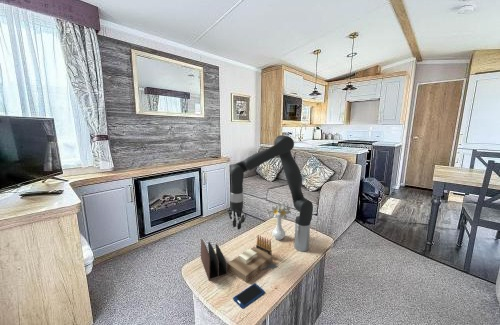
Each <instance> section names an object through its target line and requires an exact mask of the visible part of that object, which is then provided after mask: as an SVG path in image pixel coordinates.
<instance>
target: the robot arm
mask: <svg viewBox="0 0 500 325" xmlns="http://www.w3.org/2000/svg"><path fill="white" fill-rule="evenodd" d="M294 147H295V141H294V139H293V138H292V137H291V136H288V135H283V134H281V135H278V136H277V137H276V138H275V140H274V144H273V145H272V146H270V147H269V148H266V149H264V150H261V151H258V152H256V153H253V154H252V155H250V156H249V157H247V158H245V159H243V160H241V161H238V162H236V163H234V164H232V165H231V167H230V168H229V173H230V181H231V182H230V194H229V208H228V209H227V212H228V216H229V219H230V220H231V222H232V228H236V227H237V230H241V229H242V224H243V223H245V222H246V221H245V220H246V218H247V214H246V213H244V211H243V208H244V192H243V191H244V190H243V189H244V185H243V183H244V176H245V175H244V173H245V172H247V171H252V170H255V168H257V167H259V166H260V165H263V164H264V163H266V162H268V161H270V160H272V159H274V158H277V157H278V156H279V159H280V162H281V165H282V169H283V173H284V177H285V178H286V182H287V186H288V188H289V190H290V194H291V198H292V203H293V206H294V207H293V208H294V209H295V210H296V211H298V212H299V215H297V216H296V217H295V219H294V220H295V224H294V245H293V247H294V249H295V250H296V251H297V252H307V251H309V250H310V249H309V248H310V235H311V233H310V232H311V221H312V220H313V214H314V213H313V212H314V204H313V202H312V201H311V200H310V199H308V198H306V197H305V196H304V194H303V190H302V184H303V176H302V172H301V170H300V168H299V165H298V163H297V162H296V160H295V159H294V157H293V155H292V152H291V151H292V150H293V148H294Z"/></svg>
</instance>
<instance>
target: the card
mask: <svg viewBox="0 0 500 325" xmlns="http://www.w3.org/2000/svg"><path fill="white" fill-rule="evenodd" d="M238 256H239V260H240V261H242V262H244V263H245V264H247V263H249V262H250V261H252V260H253V259H254V258H256V257H257V252H255V251H253V250H251V248H248V249H246V250H244V251H243V252H241V253H240V254H238Z"/></svg>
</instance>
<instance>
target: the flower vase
mask: <svg viewBox="0 0 500 325" xmlns="http://www.w3.org/2000/svg"><path fill="white" fill-rule="evenodd" d="M285 204H286V207H285ZM271 209H272V210H269V209H267V207H265V209H264V211H265V212H266V213H267V214H266V216H267V217H268V218H270V215H272V218H276V226H275V228H274V229H273V230H272V232H271V234H272V236H273V237H274V239H275V240H277V241H281V240H283V239H284V238H285V237H286V230H284V228H283V226H282V218H284V219H285V220H286V219H287V218H288V217H287V215H288V214H290V215H291V214H292V211H291V206H289V204H288V203H285V202H284V203H280V202H277V204H275V206H273V205H272V206H271Z"/></svg>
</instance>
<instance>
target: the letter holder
mask: <svg viewBox="0 0 500 325" xmlns="http://www.w3.org/2000/svg"><path fill="white" fill-rule="evenodd" d="M207 244H208V246H206V243H205V242H204V240H203V239H202V238H201V239H200V260H201V263H202V265H203V268H204V270H205V274H206V276H207V279H208V281H213V280H216V279H219V278H222V277H225V276H228V270H227V263H228V262H227V259H226V257H225V256H224V253H223V252H222V250H221V248H220V247H219V245H218V244H217V243H215V249H214V247H213V245H212V243H211V242H210V241H208V243H207Z"/></svg>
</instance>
